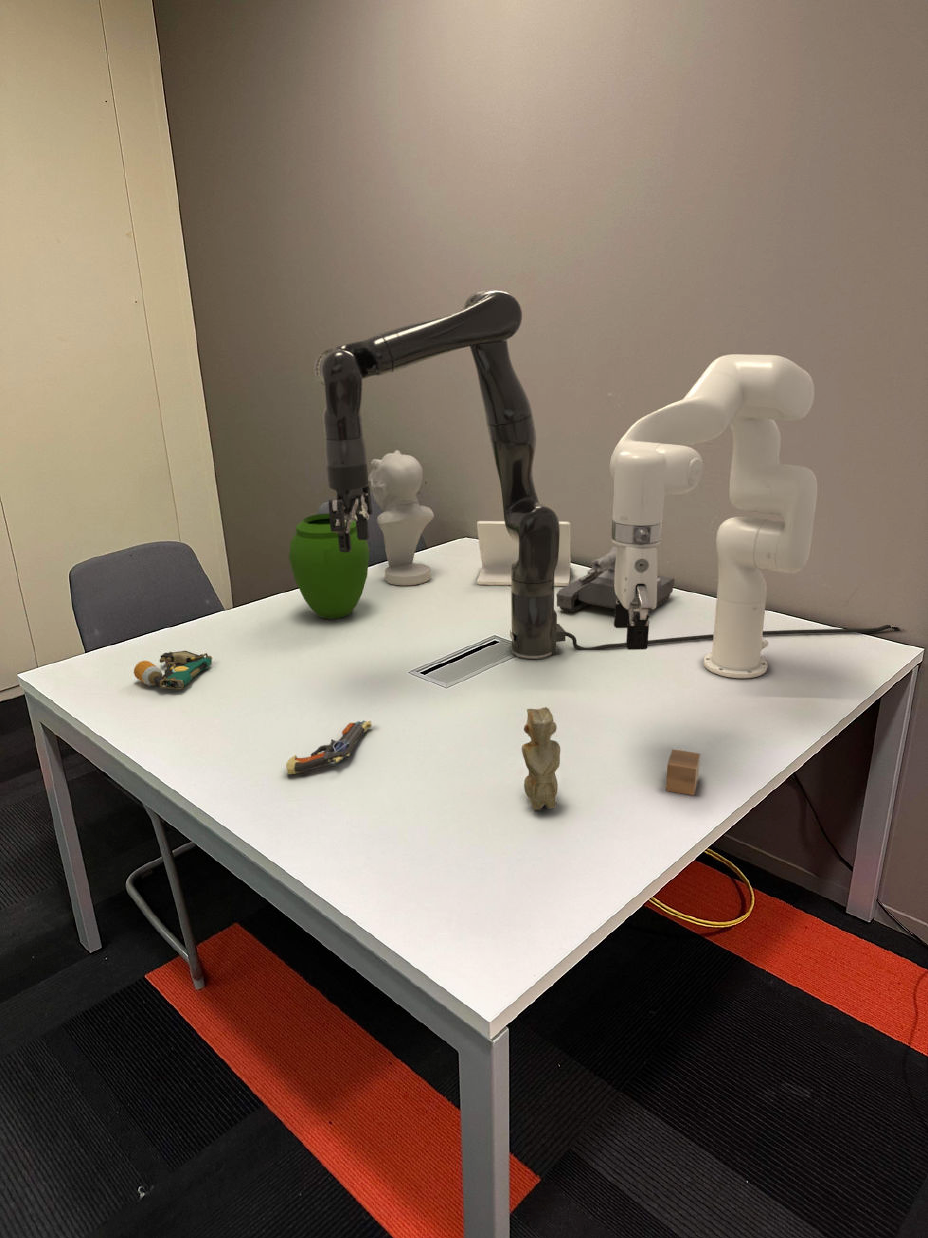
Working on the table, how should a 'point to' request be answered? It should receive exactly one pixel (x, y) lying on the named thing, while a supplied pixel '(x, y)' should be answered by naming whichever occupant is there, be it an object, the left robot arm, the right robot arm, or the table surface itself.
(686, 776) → the brown wooden block
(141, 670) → the spray gun
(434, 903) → the table surface
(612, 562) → the toy
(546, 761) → the sculpture
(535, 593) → the left robot arm
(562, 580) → the tablet stand
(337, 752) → the toy gun
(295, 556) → the vase
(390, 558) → the bust sculpture
